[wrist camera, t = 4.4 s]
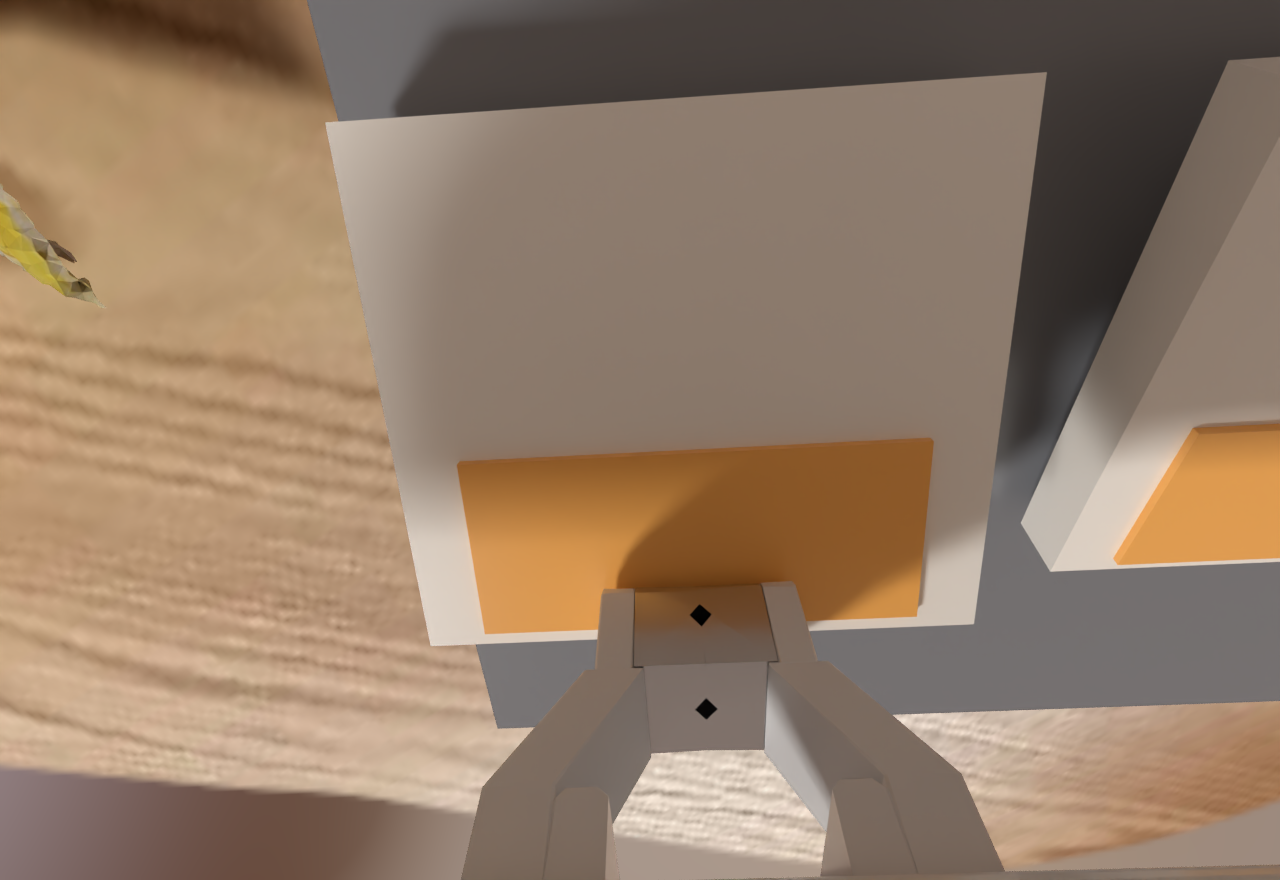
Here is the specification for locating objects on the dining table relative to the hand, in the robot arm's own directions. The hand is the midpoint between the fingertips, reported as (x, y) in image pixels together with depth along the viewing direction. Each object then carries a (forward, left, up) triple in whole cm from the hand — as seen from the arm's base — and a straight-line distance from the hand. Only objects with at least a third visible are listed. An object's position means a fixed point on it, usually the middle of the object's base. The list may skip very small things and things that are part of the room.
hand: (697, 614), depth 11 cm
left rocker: (-3, 0, -1) cm, 3 cm away
